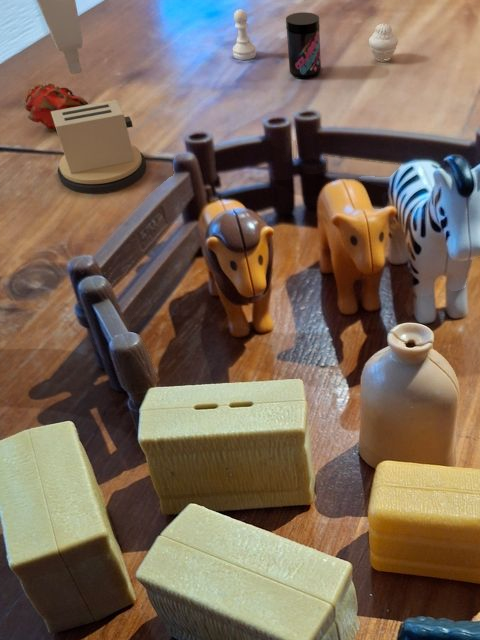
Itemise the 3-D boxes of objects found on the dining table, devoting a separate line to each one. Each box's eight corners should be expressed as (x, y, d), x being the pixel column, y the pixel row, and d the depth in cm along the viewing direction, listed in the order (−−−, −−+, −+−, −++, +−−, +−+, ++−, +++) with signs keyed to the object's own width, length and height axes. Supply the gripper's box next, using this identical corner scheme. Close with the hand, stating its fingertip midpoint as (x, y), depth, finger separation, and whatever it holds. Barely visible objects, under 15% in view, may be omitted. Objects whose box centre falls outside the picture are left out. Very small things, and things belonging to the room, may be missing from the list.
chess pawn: (239, 49, 161) (234, 4, 154) (260, 52, 160) (255, 7, 153) (229, 58, 158) (223, 12, 151) (250, 61, 157) (245, 15, 150)
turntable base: (66, 201, 121) (64, 194, 121) (54, 160, 130) (51, 153, 129) (155, 182, 125) (153, 176, 124) (136, 144, 134) (135, 137, 133)
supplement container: (288, 80, 151) (284, 25, 143) (290, 66, 155) (286, 12, 147) (321, 79, 151) (319, 24, 143) (321, 66, 155) (319, 11, 147)
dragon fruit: (31, 134, 140) (95, 141, 142) (16, 124, 132) (84, 132, 133) (30, 86, 138) (95, 94, 140) (15, 73, 130) (84, 82, 131)
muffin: (395, 65, 155) (397, 29, 150) (367, 64, 156) (367, 28, 150) (397, 53, 159) (399, 18, 154) (370, 52, 160) (370, 17, 154)
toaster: (66, 191, 121) (49, 138, 114) (54, 153, 129) (37, 102, 122) (149, 174, 124) (137, 122, 117) (132, 138, 132) (120, 87, 126)
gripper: (10, -61, 109) (41, 40, 120) (26, -18, 97) (60, 89, 107) (53, -66, 110) (80, 33, 121) (74, -25, 98) (102, 81, 109)
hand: (71, 60), depth 114 cm, fingers open, 8 cm apart
